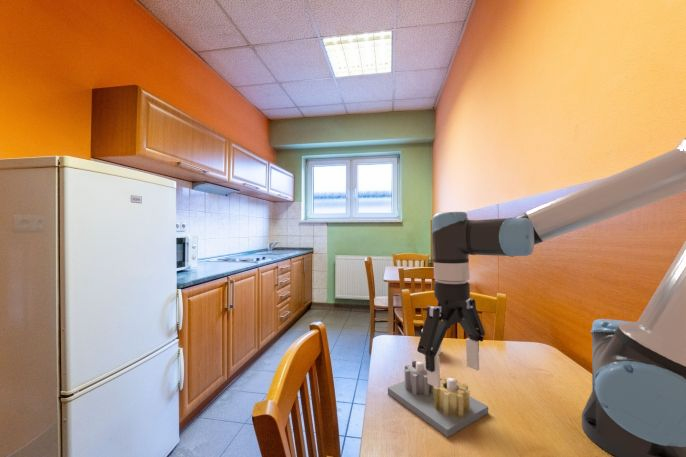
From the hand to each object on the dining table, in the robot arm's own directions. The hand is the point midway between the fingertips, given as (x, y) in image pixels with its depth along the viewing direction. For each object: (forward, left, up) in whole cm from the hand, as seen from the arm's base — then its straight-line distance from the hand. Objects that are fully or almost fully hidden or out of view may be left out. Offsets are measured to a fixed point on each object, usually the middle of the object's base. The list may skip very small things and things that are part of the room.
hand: (454, 376), depth 64 cm
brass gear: (+1, 0, -7) cm, 7 cm away
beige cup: (+25, -22, -9) cm, 35 cm away
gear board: (+5, 0, -9) cm, 10 cm away
